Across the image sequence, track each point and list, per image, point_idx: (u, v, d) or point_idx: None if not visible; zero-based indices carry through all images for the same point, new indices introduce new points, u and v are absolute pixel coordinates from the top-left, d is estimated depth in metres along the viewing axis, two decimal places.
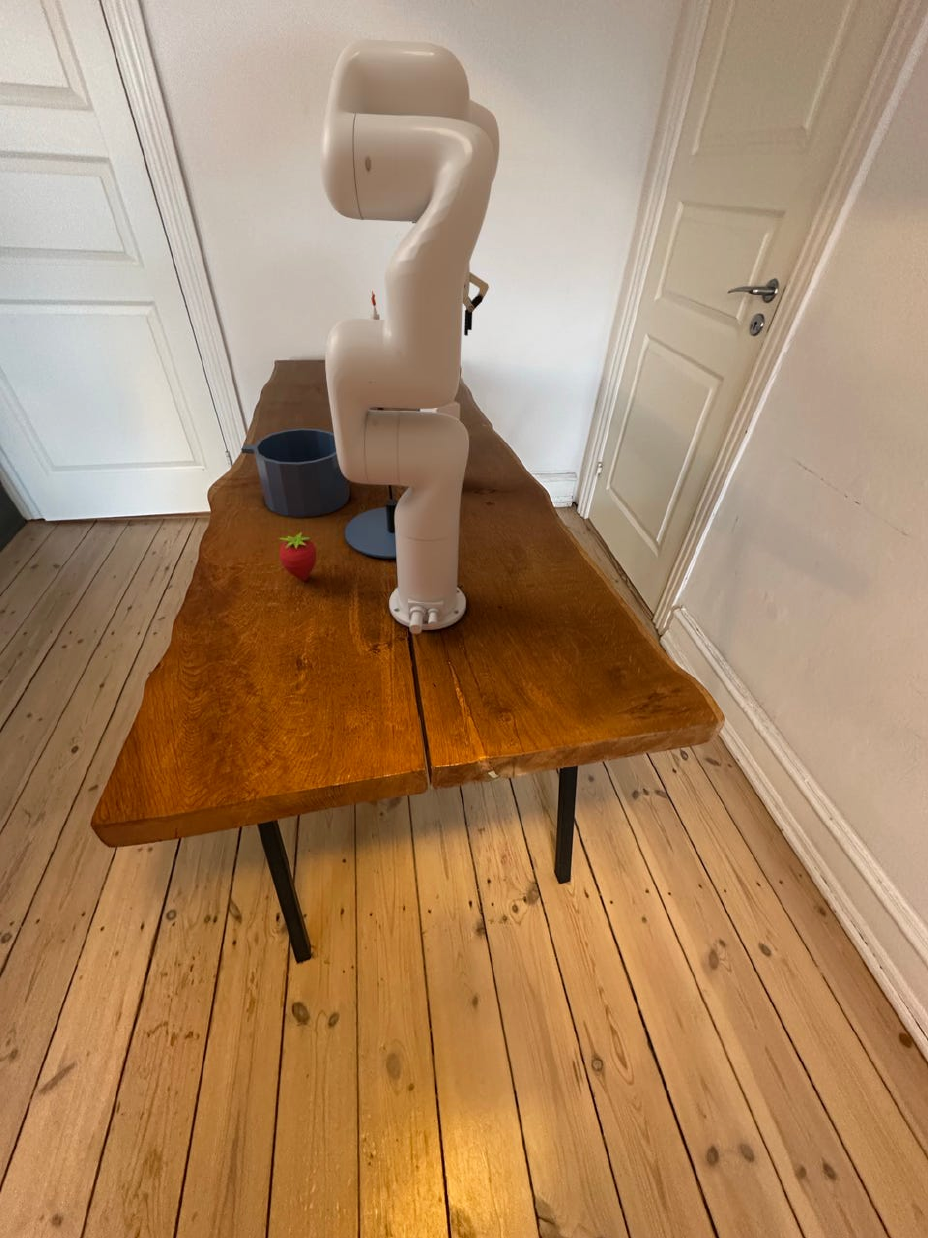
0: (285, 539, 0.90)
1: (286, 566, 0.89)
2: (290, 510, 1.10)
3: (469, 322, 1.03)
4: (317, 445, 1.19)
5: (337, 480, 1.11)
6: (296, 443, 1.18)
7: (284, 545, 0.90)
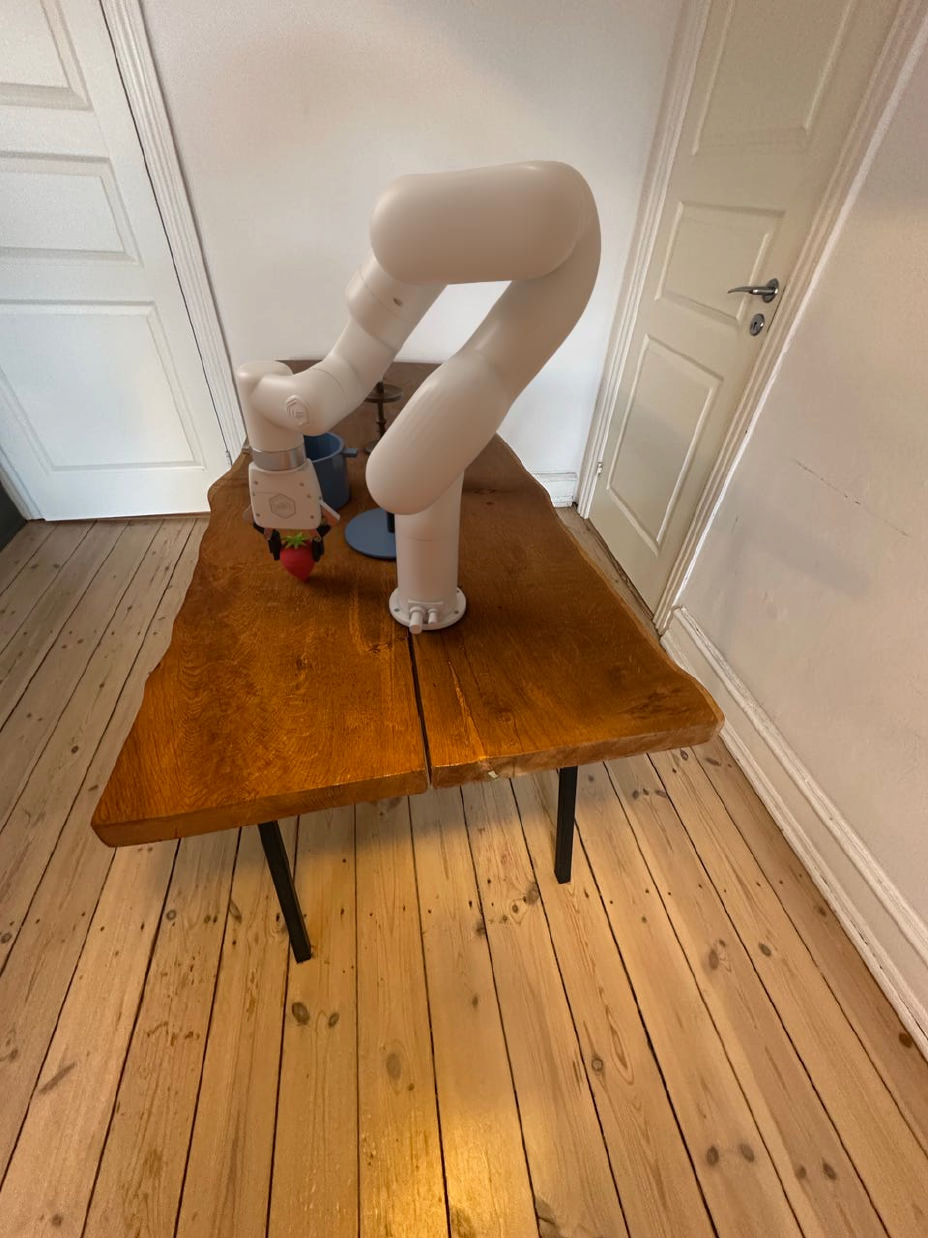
0: (285, 539, 0.90)
1: (286, 566, 0.89)
2: None
3: (319, 549, 0.90)
4: (317, 445, 1.19)
5: (337, 480, 1.11)
6: None
7: (284, 545, 0.90)
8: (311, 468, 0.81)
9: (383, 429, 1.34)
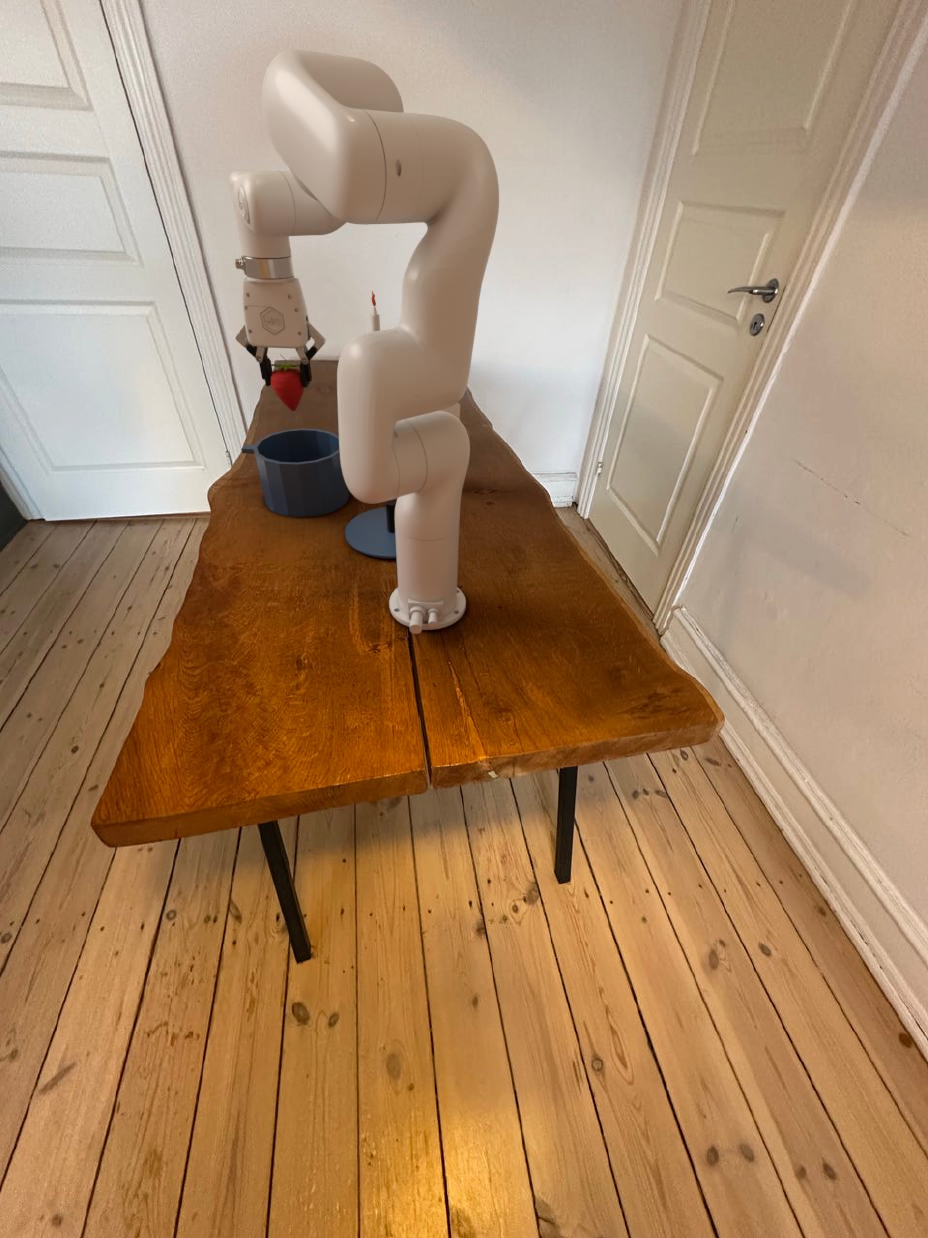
0: (275, 364, 0.98)
1: (276, 388, 0.97)
2: (290, 510, 1.10)
3: (306, 374, 0.98)
4: (317, 445, 1.19)
5: (337, 480, 1.11)
6: (296, 443, 1.18)
7: (274, 370, 0.98)
8: (298, 283, 0.89)
9: None
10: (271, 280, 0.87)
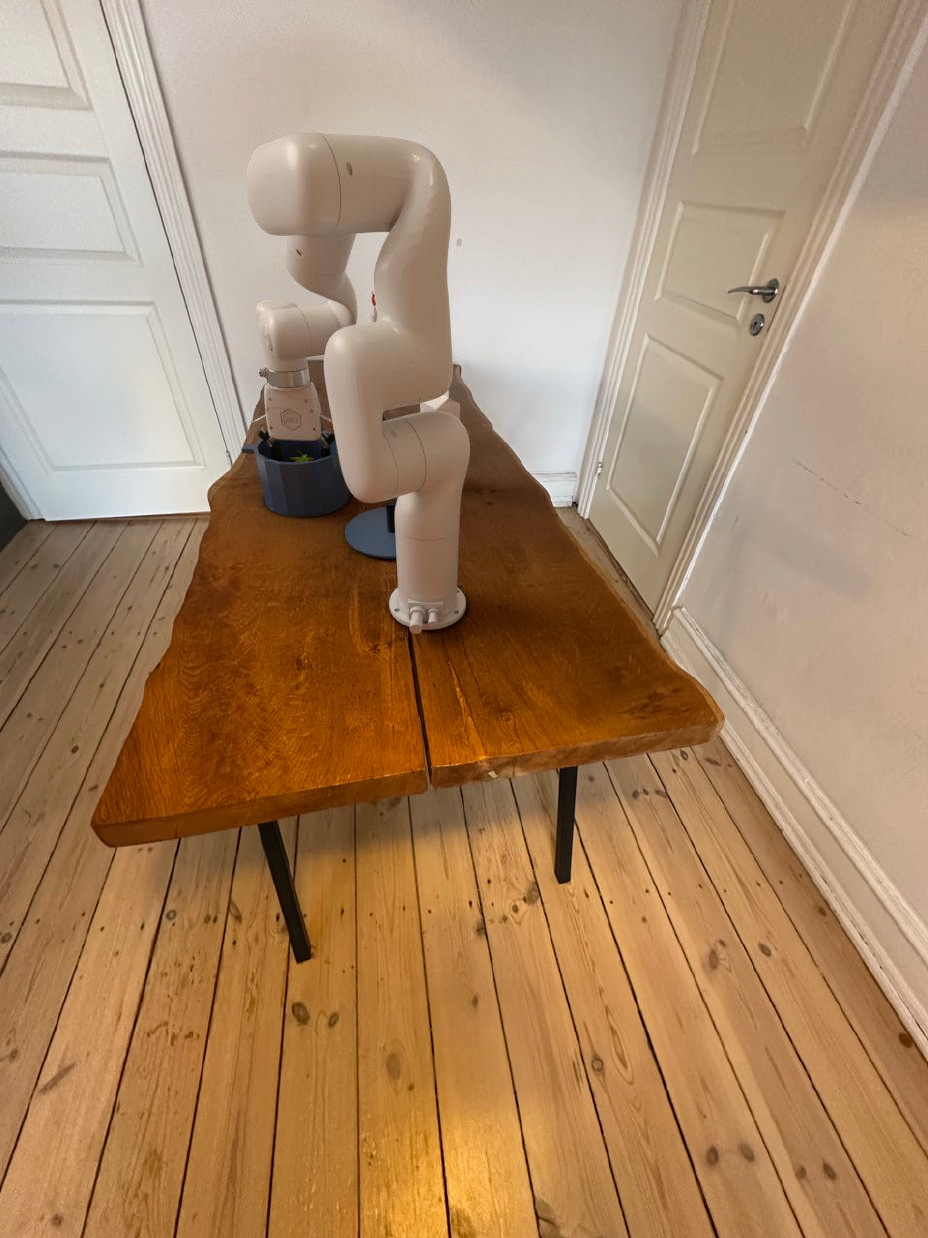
0: (293, 458, 1.12)
1: None
2: (290, 510, 1.10)
3: (326, 456, 1.11)
4: (317, 445, 1.19)
5: (337, 480, 1.11)
6: (296, 443, 1.18)
7: None
8: (313, 388, 1.03)
9: None
10: (290, 388, 1.00)
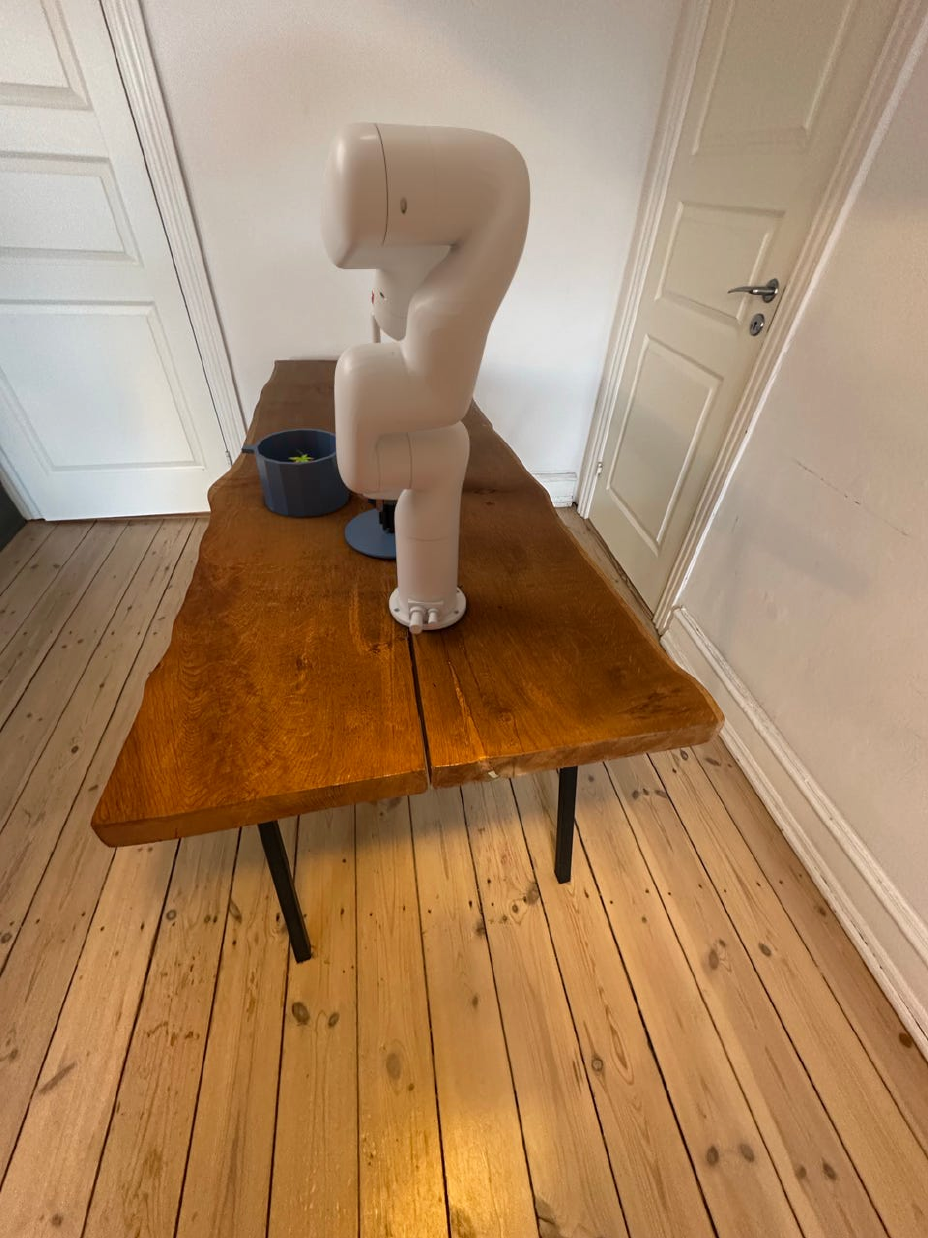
0: (293, 458, 1.12)
1: None
2: (290, 510, 1.10)
3: None
4: (317, 445, 1.19)
5: (337, 480, 1.11)
6: (296, 443, 1.18)
7: None
8: None
9: None
10: None
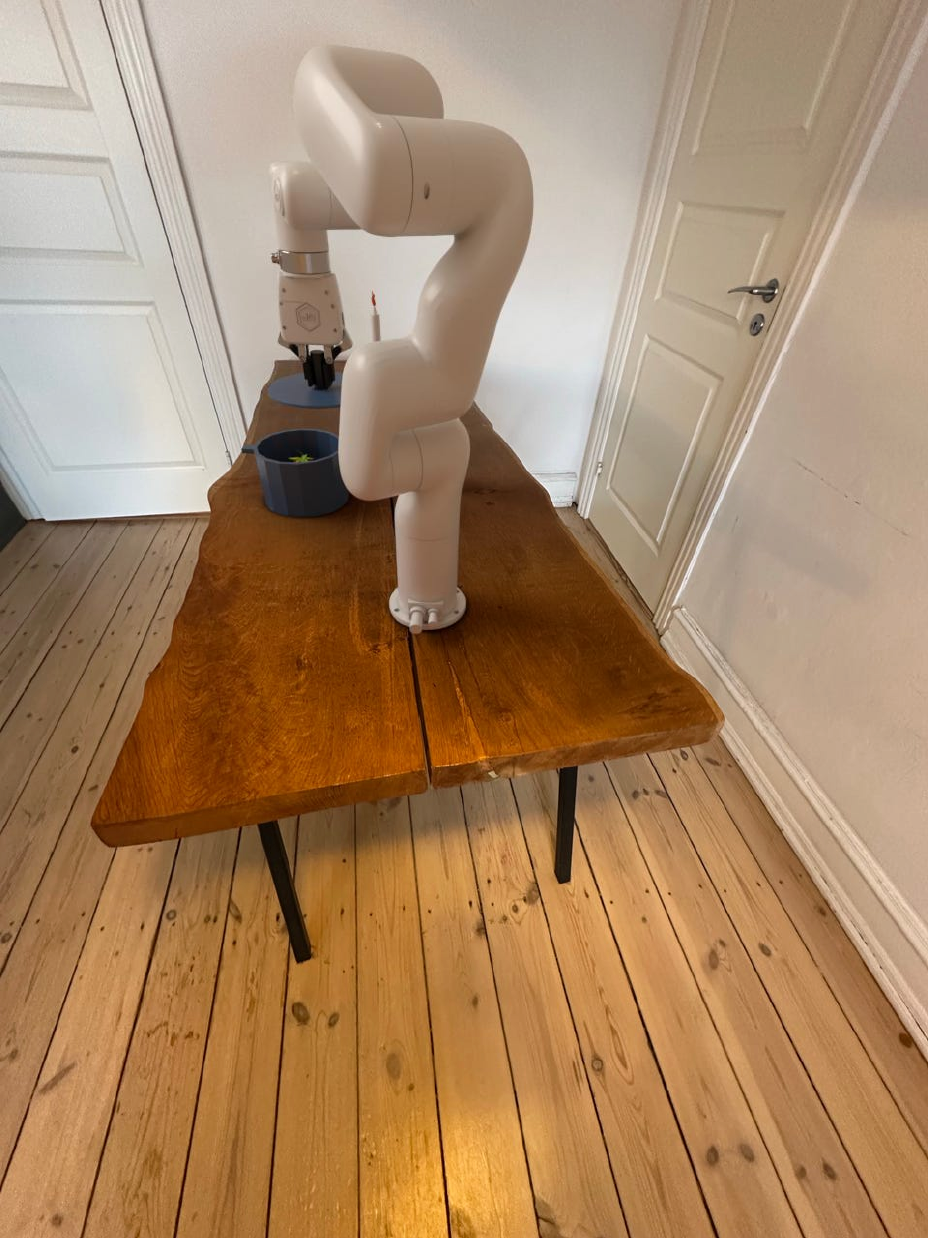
0: (293, 458, 1.12)
1: None
2: (290, 510, 1.10)
3: (330, 373, 0.96)
4: (317, 445, 1.19)
5: (337, 480, 1.11)
6: (296, 443, 1.18)
7: None
8: (335, 278, 0.87)
9: None
10: (308, 275, 0.84)
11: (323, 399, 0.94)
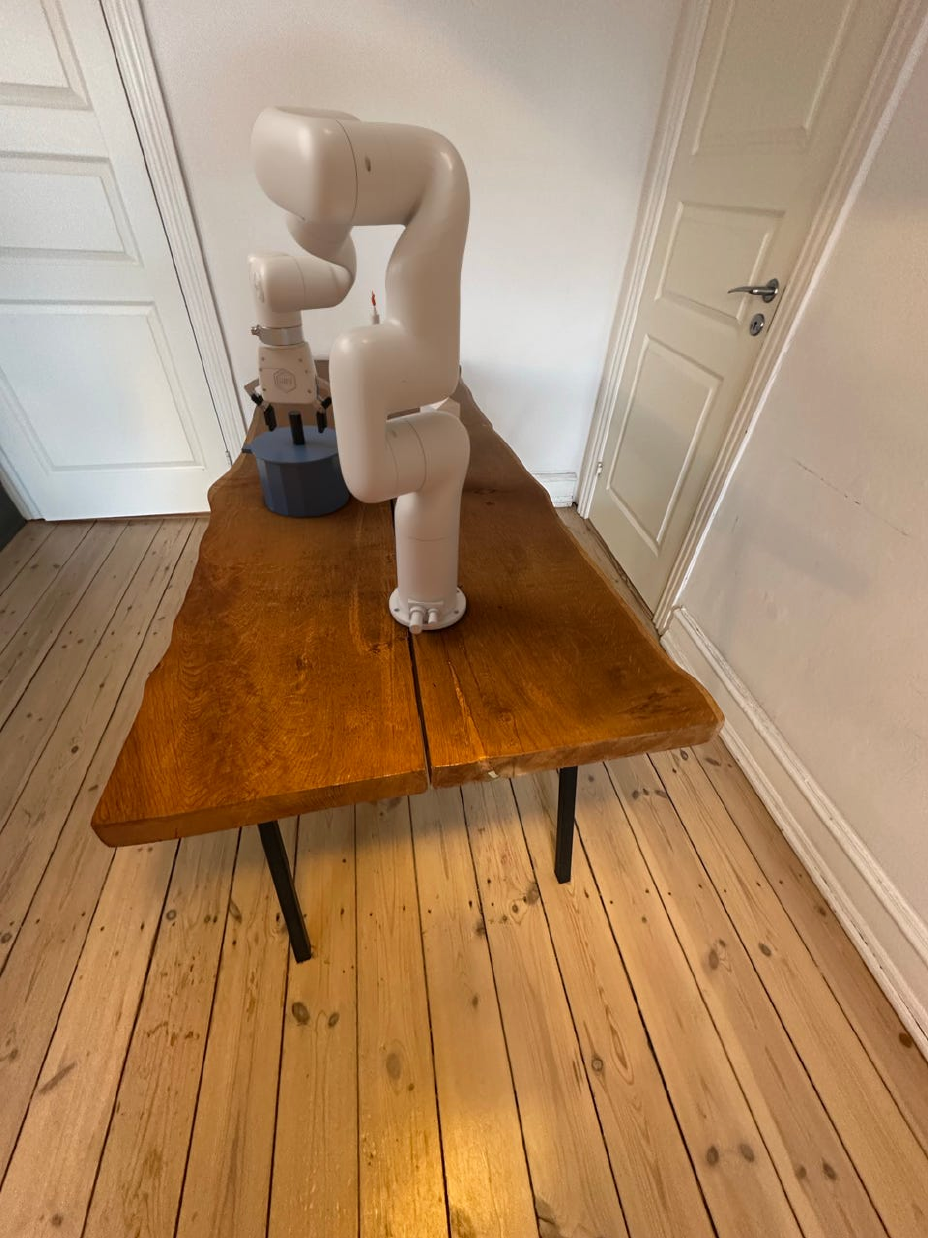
0: None
1: None
2: (290, 510, 1.10)
3: (322, 421, 1.06)
4: None
5: (337, 480, 1.11)
6: None
7: None
8: (308, 347, 0.98)
9: None
10: (284, 346, 0.95)
11: (300, 455, 1.06)
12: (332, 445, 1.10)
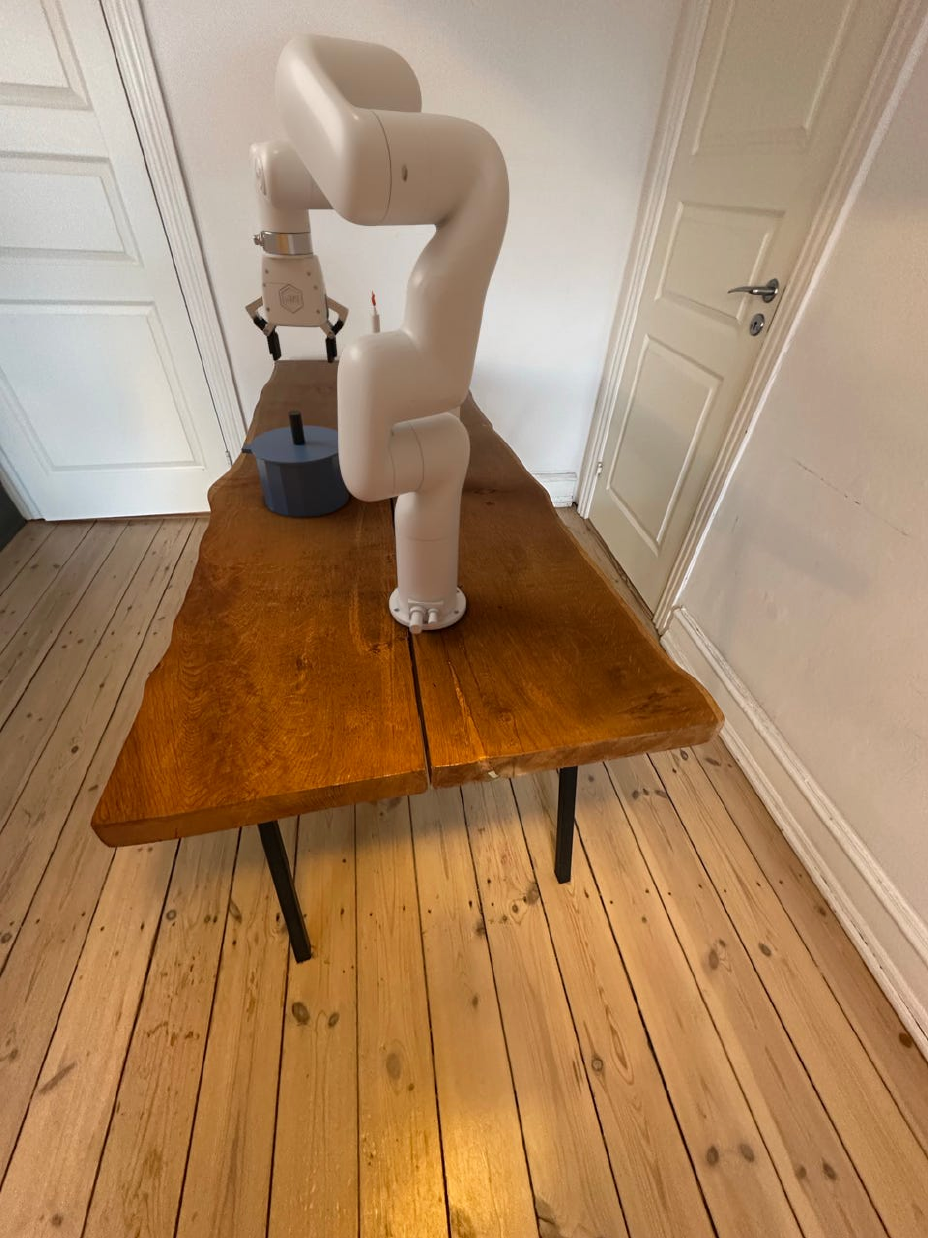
0: None
1: None
2: (290, 510, 1.10)
3: (332, 349, 0.96)
4: None
5: (337, 480, 1.11)
6: None
7: None
8: (317, 259, 0.88)
9: None
10: (290, 256, 0.85)
11: (300, 455, 1.06)
12: (332, 445, 1.10)
